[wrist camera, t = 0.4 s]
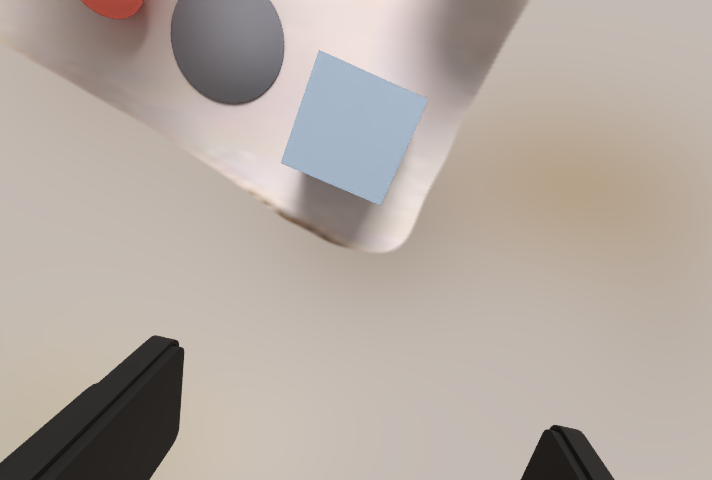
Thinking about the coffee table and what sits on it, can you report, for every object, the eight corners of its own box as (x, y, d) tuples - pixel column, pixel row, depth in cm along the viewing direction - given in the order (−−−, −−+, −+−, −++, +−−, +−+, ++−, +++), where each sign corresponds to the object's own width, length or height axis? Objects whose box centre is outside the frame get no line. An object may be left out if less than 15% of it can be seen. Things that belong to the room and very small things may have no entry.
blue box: (305, 154, 33) (280, 163, 24) (335, 71, 31) (319, 50, 22) (380, 186, 33) (380, 205, 25) (415, 107, 31) (428, 99, 23)
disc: (150, 7, 30) (149, 7, 30) (251, -49, 28) (250, -50, 28) (207, 120, 32) (206, 120, 32) (302, 75, 31) (302, 75, 31)
